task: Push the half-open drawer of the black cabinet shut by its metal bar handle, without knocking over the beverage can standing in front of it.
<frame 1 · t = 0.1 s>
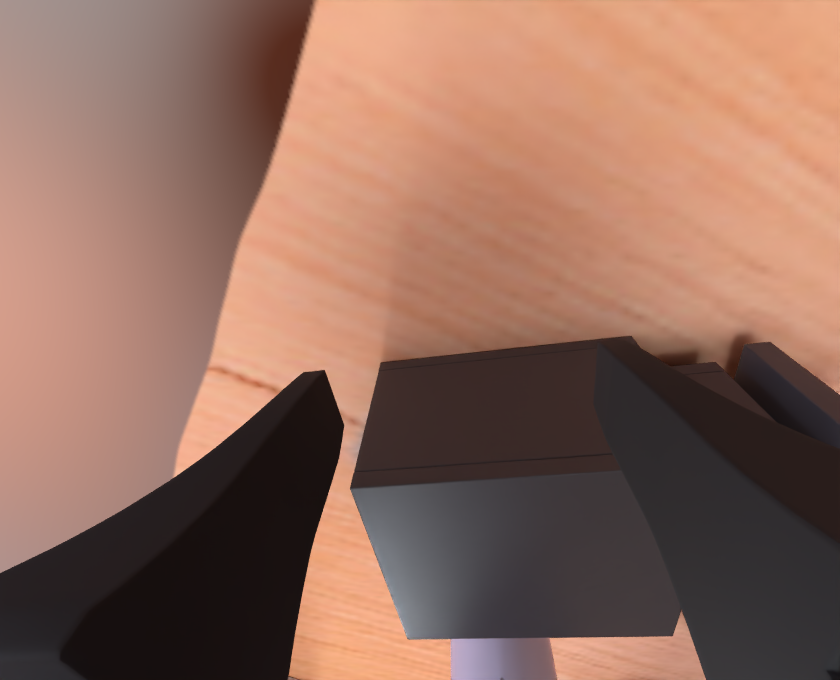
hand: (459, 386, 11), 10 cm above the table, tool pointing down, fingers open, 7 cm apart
drawer: (694, 480, 20), point 4 cm above the table, slide at 5.0 cm
cabinet: (507, 433, 25), on the table
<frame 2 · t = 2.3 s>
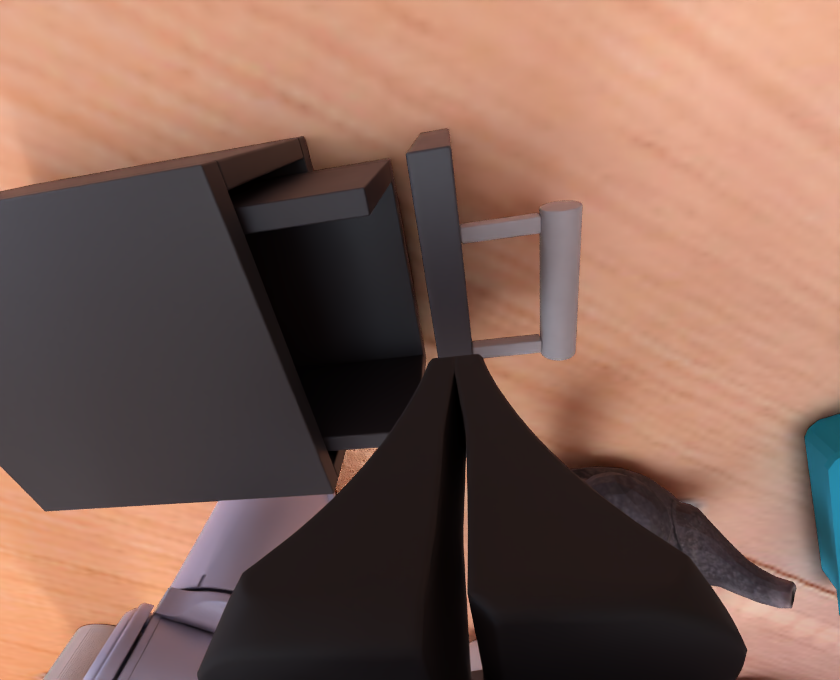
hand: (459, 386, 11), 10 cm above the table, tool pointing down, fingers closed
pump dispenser: (494, 646, 41), on the table
drawer: (366, 304, 17), point 4 cm above the table, slide at 5.0 cm
cabinet: (218, 288, 21), on the table
cup: (119, 641, 45), on the table
teapot: (589, 477, 28), on the table
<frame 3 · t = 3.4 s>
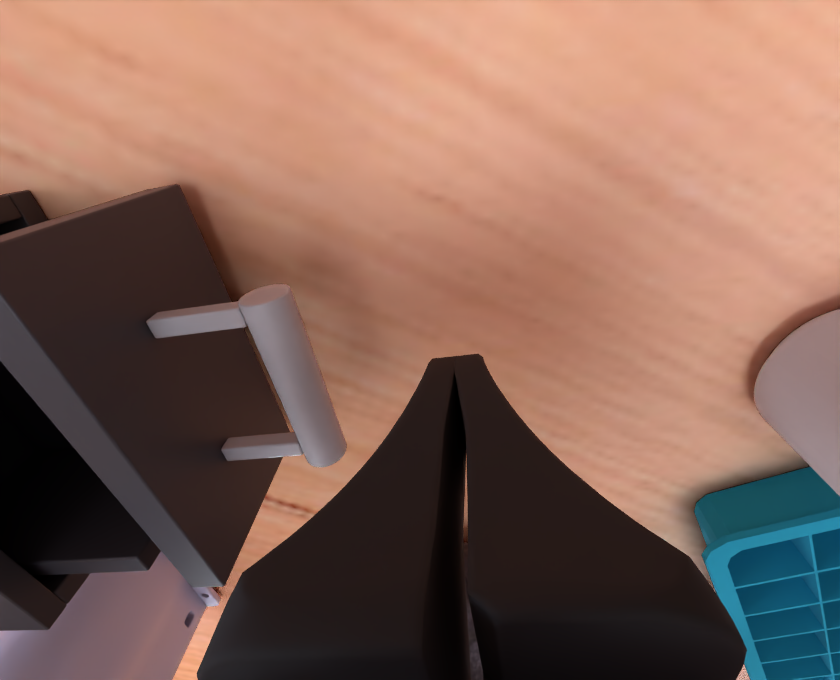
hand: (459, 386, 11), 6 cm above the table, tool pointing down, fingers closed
drawer: (90, 397, 14), point 4 cm above the table, slide at 5.0 cm
ice cube tray: (812, 562, 23), on the table
beverage can: (825, 359, 16), on the table
teapot: (465, 547, 25), on the table
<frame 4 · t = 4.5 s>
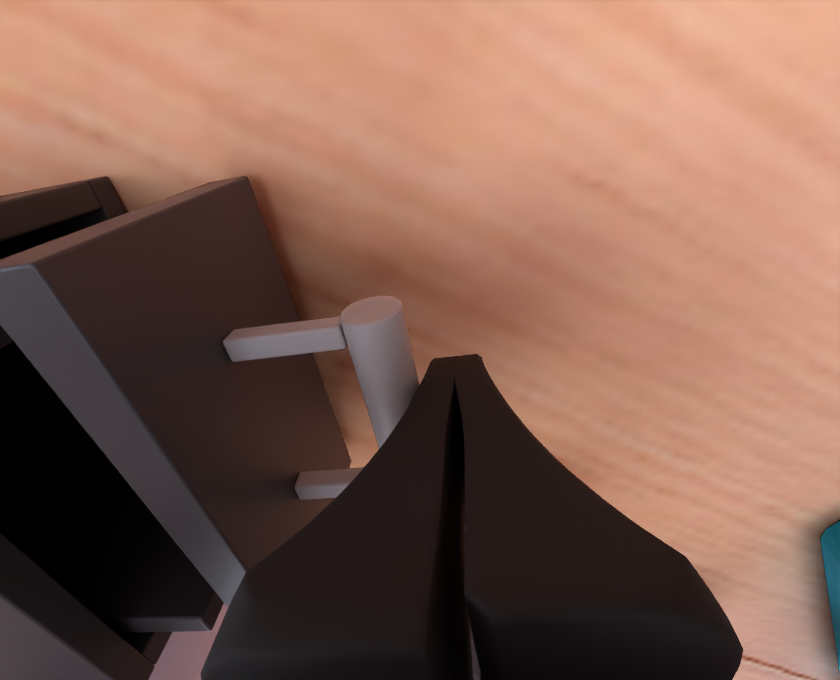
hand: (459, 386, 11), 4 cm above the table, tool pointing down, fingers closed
drawer: (141, 425, 12), point 4 cm above the table, slide at 3.6 cm, touching gripper
cabinet: (47, 366, 16), on the table
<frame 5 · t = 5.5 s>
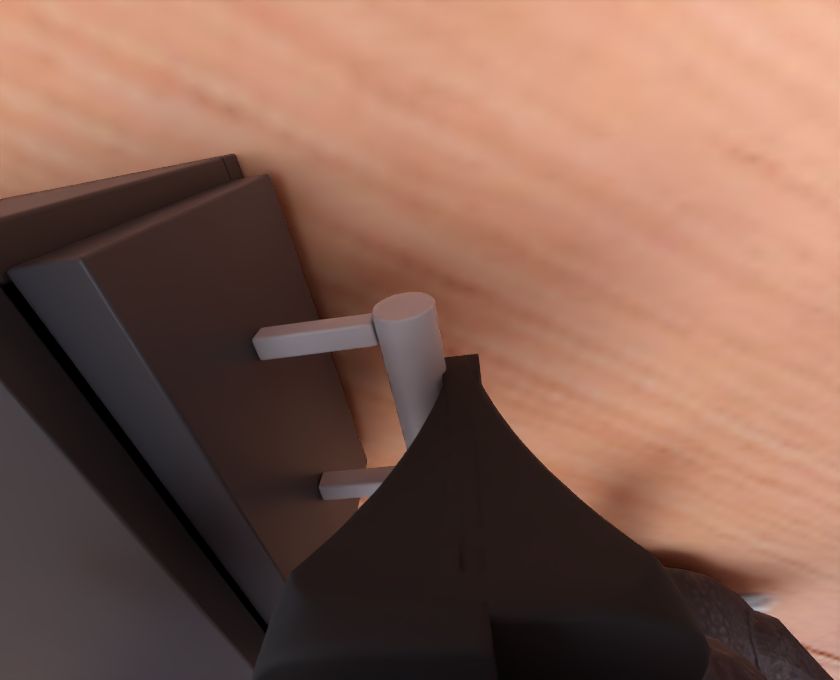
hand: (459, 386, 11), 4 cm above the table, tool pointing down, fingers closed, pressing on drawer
drawer: (162, 427, 11), point 4 cm above the table, slide at 0.0 cm, touching cabinet, gripper
cabinet: (138, 359, 16), on the table
teapot: (632, 569, 22), on the table
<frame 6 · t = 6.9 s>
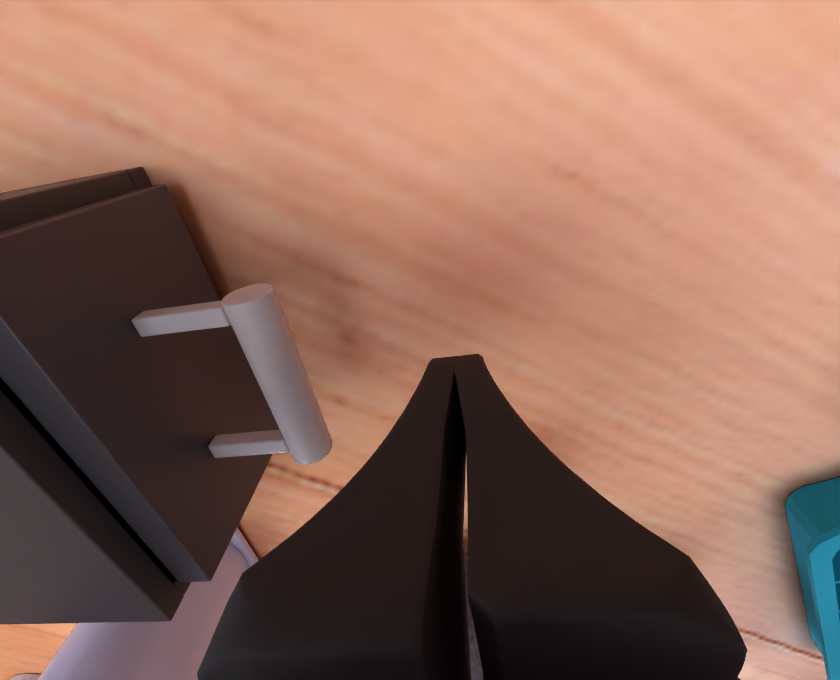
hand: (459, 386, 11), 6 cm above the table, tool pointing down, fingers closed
drawer: (79, 394, 14), point 4 cm above the table, slide at 0.0 cm, touching cabinet
cabinet: (80, 341, 18), on the table
teapot: (539, 541, 24), on the table
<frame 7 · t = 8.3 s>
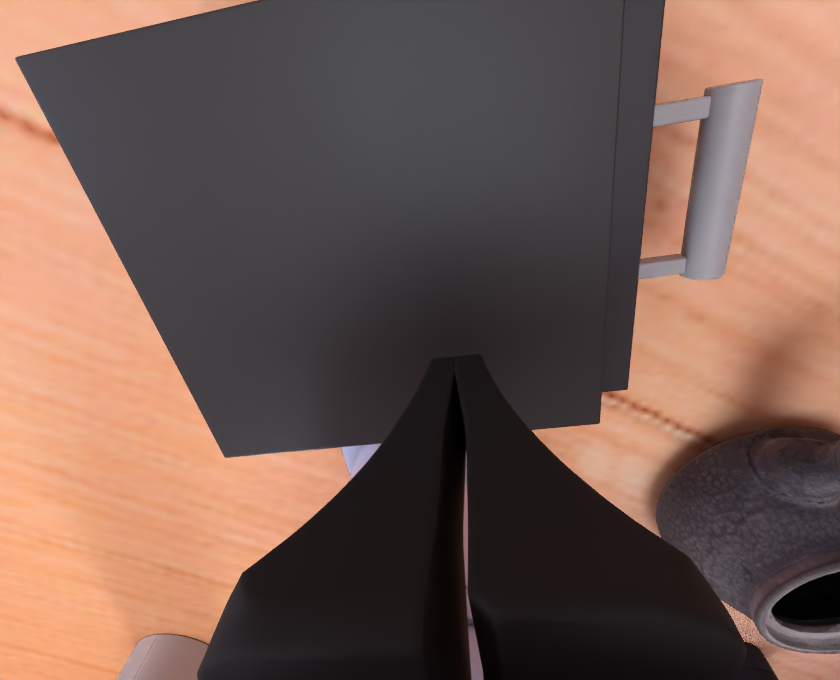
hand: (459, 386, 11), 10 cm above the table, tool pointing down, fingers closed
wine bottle: (721, 657, 36), on the table
drawer: (483, 221, 15), point 4 cm above the table, slide at 0.0 cm, touching cabinet
cabinet: (393, 214, 19), on the table
cup: (182, 655, 41), on the table
teapot: (765, 444, 25), on the table
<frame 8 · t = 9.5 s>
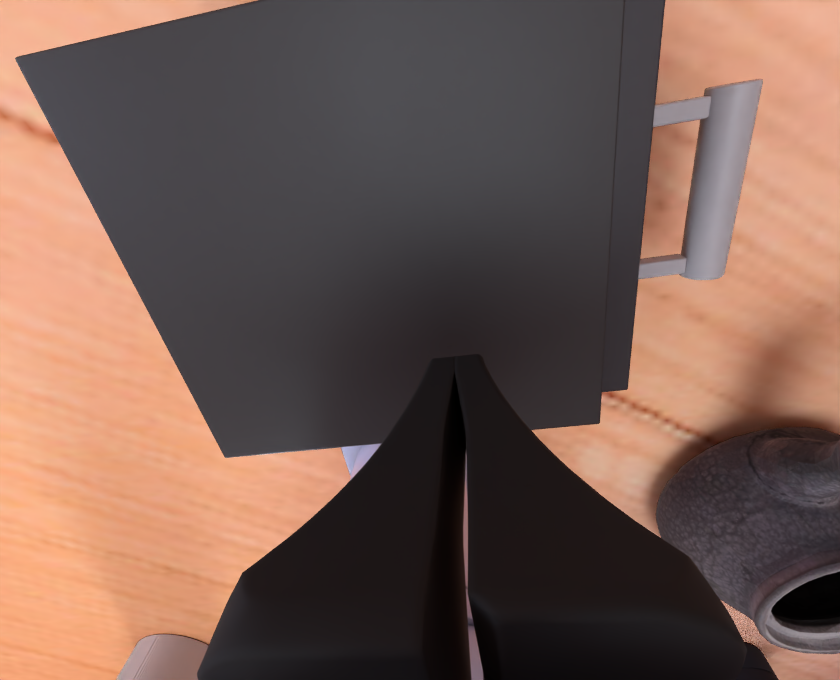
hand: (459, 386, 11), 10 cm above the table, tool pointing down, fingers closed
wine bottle: (721, 657, 36), on the table
drawer: (483, 221, 15), point 4 cm above the table, slide at 0.0 cm, touching cabinet
cabinet: (393, 214, 19), on the table
cup: (182, 655, 41), on the table
teapot: (765, 444, 25), on the table
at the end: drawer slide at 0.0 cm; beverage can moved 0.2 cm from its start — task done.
